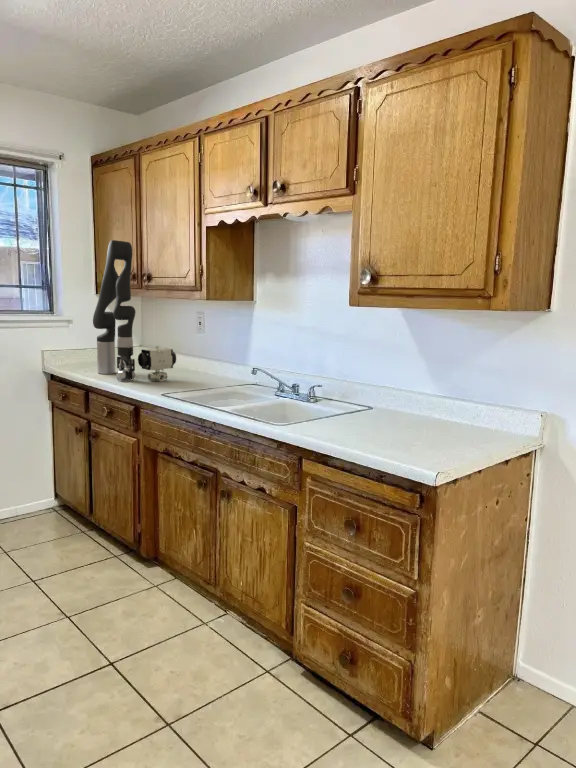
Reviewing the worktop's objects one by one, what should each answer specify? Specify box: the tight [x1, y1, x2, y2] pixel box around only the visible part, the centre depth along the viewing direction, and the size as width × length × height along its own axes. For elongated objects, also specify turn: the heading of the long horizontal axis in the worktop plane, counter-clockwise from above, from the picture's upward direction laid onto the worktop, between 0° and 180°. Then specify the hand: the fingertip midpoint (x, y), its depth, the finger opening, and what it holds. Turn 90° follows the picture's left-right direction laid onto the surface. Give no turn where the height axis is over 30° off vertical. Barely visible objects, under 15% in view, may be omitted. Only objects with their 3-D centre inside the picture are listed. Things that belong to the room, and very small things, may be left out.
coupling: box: [115, 368, 136, 382], centre depth 288 cm, size 5×8×5 cm
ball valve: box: [137, 345, 177, 383], centre depth 287 cm, size 18×8×18 cm, turn 132°
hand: (126, 378), depth 288 cm, fingers open, 7 cm apart
